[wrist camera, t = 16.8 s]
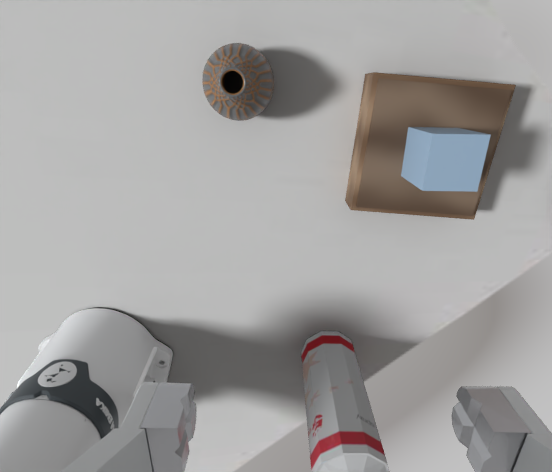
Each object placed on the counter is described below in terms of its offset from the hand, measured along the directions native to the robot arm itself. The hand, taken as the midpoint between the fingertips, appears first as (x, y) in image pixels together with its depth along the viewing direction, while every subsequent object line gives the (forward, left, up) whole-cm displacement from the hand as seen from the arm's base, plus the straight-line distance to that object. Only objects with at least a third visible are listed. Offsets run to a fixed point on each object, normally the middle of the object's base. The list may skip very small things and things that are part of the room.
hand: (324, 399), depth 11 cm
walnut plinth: (+4, -14, -33) cm, 36 cm away
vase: (+9, +6, -33) cm, 35 cm away
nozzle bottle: (-26, -8, -33) cm, 43 cm away
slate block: (+4, -14, -29) cm, 32 cm away
